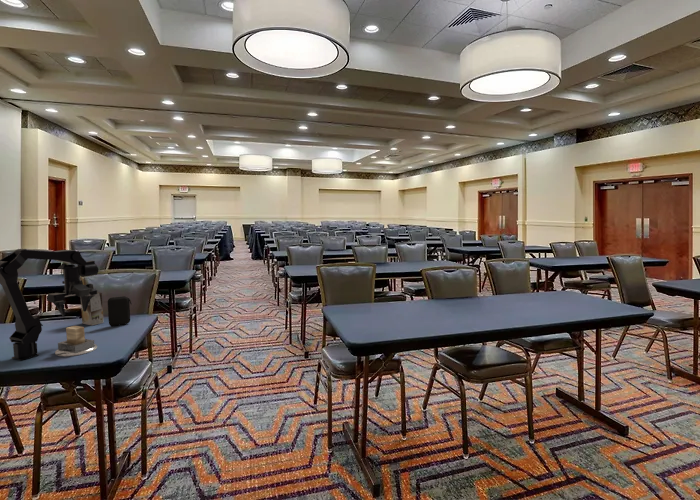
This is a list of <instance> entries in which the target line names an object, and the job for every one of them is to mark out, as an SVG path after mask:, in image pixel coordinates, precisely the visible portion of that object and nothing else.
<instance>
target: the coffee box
mask: <svg viewBox="0 0 700 500" xmlns="http://www.w3.org/2000/svg"><path fill="white" fill-rule="evenodd" d="M102 294H103V293H102V292H98V294H95V296H94V297H92V298H91V299H90V301H89V304H88V307H87V310H86V311H85V312H84V311H83V307H82V301H81V300H80V310H81V324H84V325H89V326H96V325H99V324H103V323H104V311H103V310H104V309H103V306H104V305H103V295H102Z"/></svg>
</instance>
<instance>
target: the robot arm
mask: <svg viewBox="0 0 700 500" xmlns="http://www.w3.org/2000/svg"><path fill="white" fill-rule="evenodd" d="M28 260H45V261H46V260H47V261H48V260H49V261H57V262H61V264H60V265H59V266H58V267H57V270H63V281H62V282H61V283H62V284H63V285H64V290H62V292H54V293H49V294H47V295H46V302H49V303H52V304H53V305H54V306H55V307H56V309H57V310H58V312H59V313H60V314H61V316H62V317H65V316H66V311H65V309H66V308H65V303H67V302H66V300H65V299H67V298H71V297H77V298H80V302H81V301H82V307H83V311H84V312H85V311H86V310H87V307H88V304H89V301H90V299H91V298H92V297H94V296H95V294H98V289H97V288H96V287H94V284H92V283H87V284H84V281H83V280H81V278H84V277H85V278H86V277H92V276H96V275H98V273H99V267H98V265H97V264H96V263H95V260H88V261H87V260H85V258H84V257H82V254H81V252H80V251H79V250H76V249H62V250H61V249H60V250H59V249H58V250H54V251H53V250H37V249H27V248H18V249H16V250H14V251H12V252H11V253H10V254H8V255H6V256H4V257H2V258H1V259H0V285H1V287H2V289H3V292H4V293H5V296H6V299H7V301H8V303H9V305H10V307H11V310H12V312H13V314H14V317H15V322H14V327H15V328H14V329H15V331H14V332H13V333H12V334H11V335H10V337H9V340H10V342H11V343H12V349H13V350H12V351H13V356H12V357H11V359H13V360H17V361H24V360H28V359H30V358H35V357H38V356H39V355H40V354H39V353H38V344H37V342H38V340H39V336H40V334H41V333H42V331H43V326H44V325H43V324H42V322H41V319H40V317H39V316H36V315H32V313H31V312H30V309H29V307H28V305H27V302H26V300H25V298H24V295H23V292H22V290H21V288H20V286H19V283H18V278H19V271H18V270H19V269H20V268H21V267H23V265H24V264H25V263H26V261H28Z"/></svg>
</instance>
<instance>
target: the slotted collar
mask: <svg viewBox="0 0 700 500" xmlns="http://www.w3.org/2000/svg"><path fill="white" fill-rule="evenodd" d="M97 349H98V345H97V344H95V339H94V340H93V339H89V338H85V342H83V343H80V344H77V345H76V344H70V343H67V339H66V340H63V341H59V342H57V349H56V351H54V354H55V356H57V357H64V358H65V357H74V356H81V355H85V354H89V353H91V352H94V351H96V350H97Z"/></svg>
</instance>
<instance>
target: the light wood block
mask: <svg viewBox="0 0 700 500" xmlns="http://www.w3.org/2000/svg"><path fill="white" fill-rule="evenodd" d="M65 331H66V332H65V334H66V340H67V343H70V344H76V345H77V344H80V343H83V342H85V339H86V338H85V337H86V335H85V327H84V326H79V325H72V326H69V327H65Z"/></svg>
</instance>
